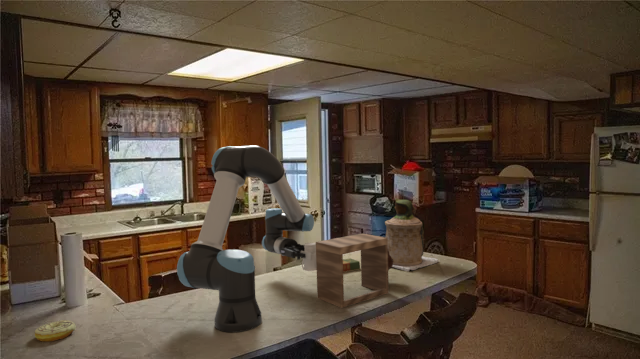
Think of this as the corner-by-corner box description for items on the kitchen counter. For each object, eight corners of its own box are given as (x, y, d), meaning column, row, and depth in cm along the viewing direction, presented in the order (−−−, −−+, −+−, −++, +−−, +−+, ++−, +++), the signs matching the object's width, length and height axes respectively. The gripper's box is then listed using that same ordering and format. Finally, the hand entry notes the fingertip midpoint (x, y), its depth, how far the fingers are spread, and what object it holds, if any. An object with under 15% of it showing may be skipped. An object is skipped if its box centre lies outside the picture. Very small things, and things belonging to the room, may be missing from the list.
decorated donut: (83, 331, 139) (82, 320, 139) (51, 345, 129) (50, 333, 129) (60, 327, 143) (59, 316, 143) (27, 340, 133) (26, 328, 133)
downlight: (315, 265, 176) (314, 241, 175) (324, 268, 170) (323, 243, 169) (298, 269, 171) (296, 244, 171) (307, 272, 165) (305, 247, 165)
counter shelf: (341, 307, 153) (339, 247, 152) (317, 298, 164) (315, 241, 163) (388, 293, 167) (387, 237, 166) (363, 285, 178) (362, 233, 177)
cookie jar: (410, 272, 195) (408, 202, 193) (368, 263, 213) (367, 199, 211) (440, 262, 212) (439, 197, 210) (399, 254, 230) (398, 194, 228)
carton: (321, 271, 203) (321, 262, 203) (350, 266, 211) (350, 257, 211) (330, 275, 196) (330, 265, 196) (360, 269, 204) (360, 260, 203)
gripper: (305, 252, 191) (339, 260, 173) (266, 259, 179) (298, 269, 161) (305, 235, 191) (338, 242, 172) (266, 241, 178) (297, 249, 160)
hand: (319, 255), depth 167 cm, fingers closed on downlight, 7 cm apart
